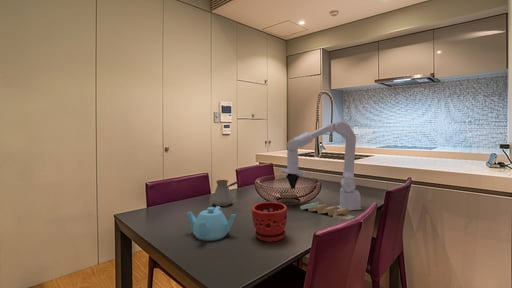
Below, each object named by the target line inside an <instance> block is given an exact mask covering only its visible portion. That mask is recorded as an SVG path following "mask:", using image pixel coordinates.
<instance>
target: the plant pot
mask: <svg viewBox="0 0 512 288" xmlns="http://www.w3.org/2000/svg"><path fill="white" fill-rule="evenodd" d="M270 209H272V211H271V210H270ZM265 210H266V211H265ZM251 214H252V222H253V226H254V228H255V232H254V235H255V236H256V238H257V239H258V240H260V241H263V242H271V243H272V242H279V241H280V240H282V239H283V238H285V236H286V230H285V228H286V226H287V220H288V207H287V206H286V204H284V203H282V202H277V201H276V202H275V201H263V202H259V203H256V204H254V205H253V206H252V207H251Z"/></svg>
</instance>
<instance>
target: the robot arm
mask: <svg viewBox="0 0 512 288" xmlns="http://www.w3.org/2000/svg"><path fill="white" fill-rule="evenodd" d="M328 133H337V134H338V135H340V136H341V137H342V138H343V139H344V140H345V143H344V144H345V146H344V148H345V149H344V162H343V163H344V164H343V171H342V177H341V179H340V181H339V182H340V186H341V188H340V189H339V205H336V206H337V208H338V209H342V208H348V209H349V211H348V212H350V211H357V210H362V207H361V199H362V198H361V193H360V192H359V190H356V182H355V175H354V174H355V173H354V172H355V158H356V147H357V146H356V145H357V143H356V141H357V136H356V134H355V133H354V131H353V129H352V128H351V125H350V124H348V123H347V121H344V120H338V121H335V122H332V123H328V124H326V125H324V126H323V127H321V128H318V129H316V130H314V131H312V132H307V131H306V132H305V131H304V132H302V134H299V135H297V136H294V137H293V138H292V139H290V140H289V139H288V141H287V143H286V147H287V151H286V152H287V153H286V156H287V157H286V159H287V160H286V161H287V162H286V163H287V164H286V166H287V168H286V169H280V174H285V177H286V179H287V180H288V183H289V187H290V189H291V190H293V189H296V186H297V183H298V180H299V178H300V177H306V176H307V175H306V172H305V171H301V170H299V148H303V147H304V146H307V145H309V144H312V143H313V140H314V139H315V138H316V139H317V138H319V137H320V136H322V135H325V134H328Z"/></svg>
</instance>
